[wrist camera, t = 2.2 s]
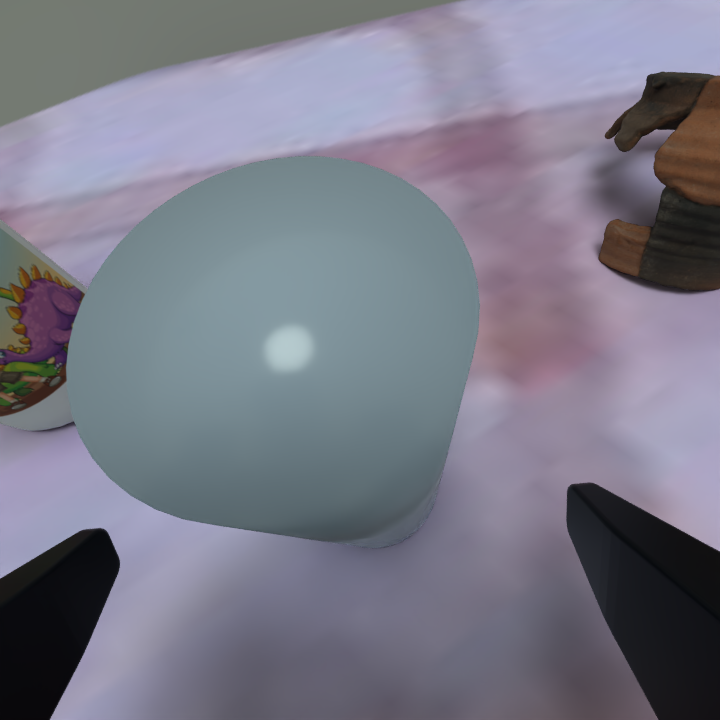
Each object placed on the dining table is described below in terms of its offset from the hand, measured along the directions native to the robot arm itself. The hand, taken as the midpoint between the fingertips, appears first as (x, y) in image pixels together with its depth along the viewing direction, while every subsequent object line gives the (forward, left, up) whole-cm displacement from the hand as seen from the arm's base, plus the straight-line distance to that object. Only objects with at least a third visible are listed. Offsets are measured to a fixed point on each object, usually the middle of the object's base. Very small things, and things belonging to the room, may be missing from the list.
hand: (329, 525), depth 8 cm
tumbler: (+2, +1, -10) cm, 10 cm away
